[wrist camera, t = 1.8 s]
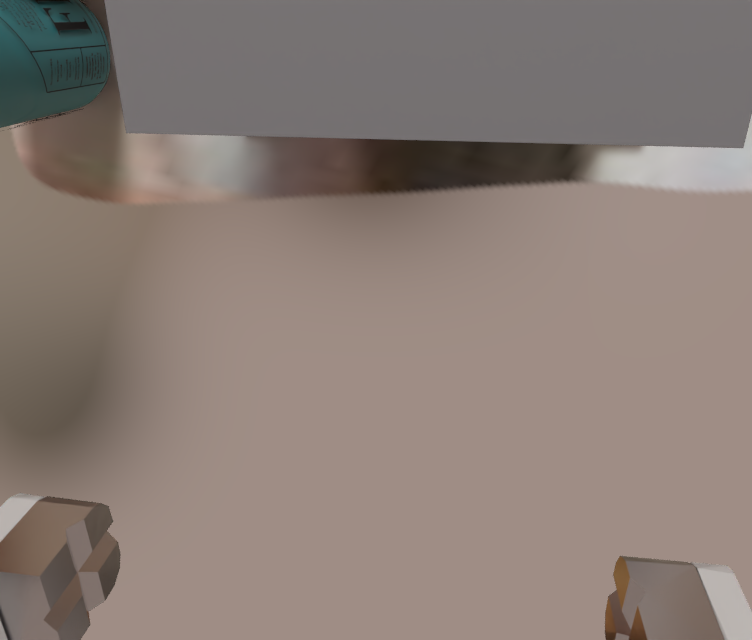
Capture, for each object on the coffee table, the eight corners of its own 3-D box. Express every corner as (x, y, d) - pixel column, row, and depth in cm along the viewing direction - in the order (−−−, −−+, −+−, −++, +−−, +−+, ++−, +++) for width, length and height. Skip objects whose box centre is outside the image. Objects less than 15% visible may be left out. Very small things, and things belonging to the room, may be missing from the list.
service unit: (692, -112, 29) (942, -256, 14) (651, 115, 34) (805, 204, 18) (230, -101, 32) (-5, -211, 16) (247, 107, 36) (75, 179, 21)
